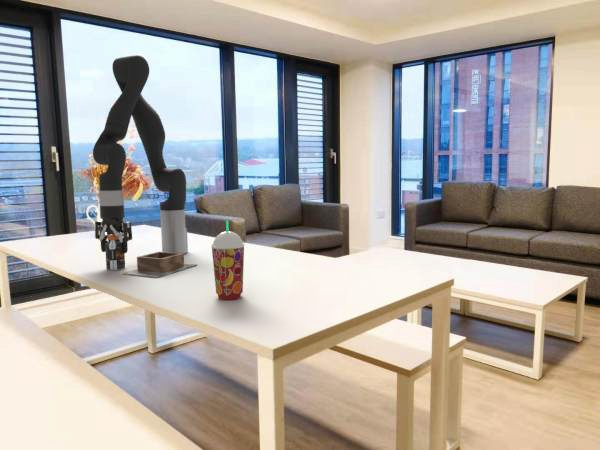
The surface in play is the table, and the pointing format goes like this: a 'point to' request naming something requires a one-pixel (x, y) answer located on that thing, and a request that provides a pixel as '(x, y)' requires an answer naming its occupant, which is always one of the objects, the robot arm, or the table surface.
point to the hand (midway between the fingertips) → (114, 252)
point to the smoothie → (228, 264)
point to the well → (159, 264)
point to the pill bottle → (114, 254)
